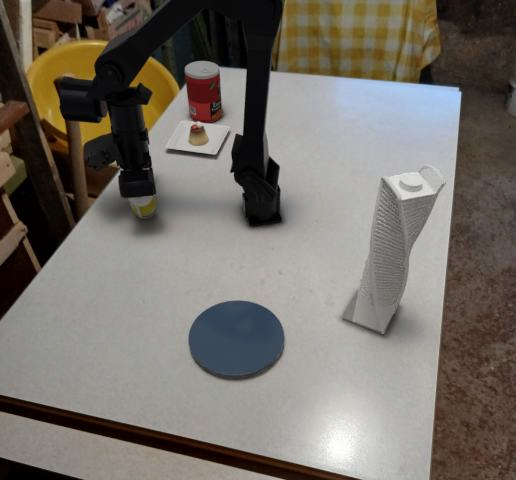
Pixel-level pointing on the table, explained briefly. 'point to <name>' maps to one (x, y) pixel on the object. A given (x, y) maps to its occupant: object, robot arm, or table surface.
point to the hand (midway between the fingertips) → (141, 197)
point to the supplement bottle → (143, 206)
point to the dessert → (197, 137)
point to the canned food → (203, 91)
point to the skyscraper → (392, 247)
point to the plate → (236, 339)
